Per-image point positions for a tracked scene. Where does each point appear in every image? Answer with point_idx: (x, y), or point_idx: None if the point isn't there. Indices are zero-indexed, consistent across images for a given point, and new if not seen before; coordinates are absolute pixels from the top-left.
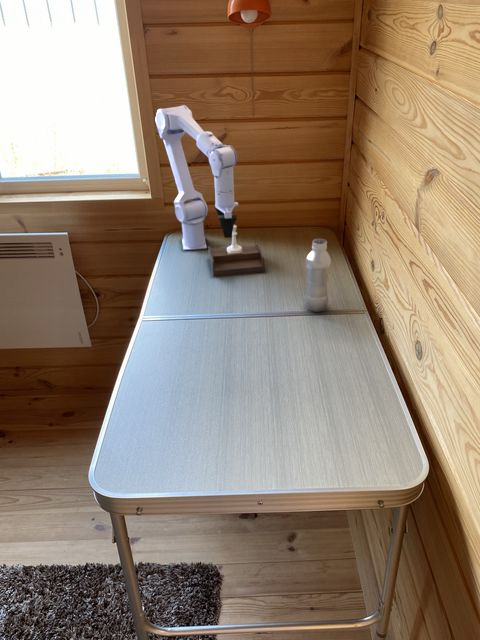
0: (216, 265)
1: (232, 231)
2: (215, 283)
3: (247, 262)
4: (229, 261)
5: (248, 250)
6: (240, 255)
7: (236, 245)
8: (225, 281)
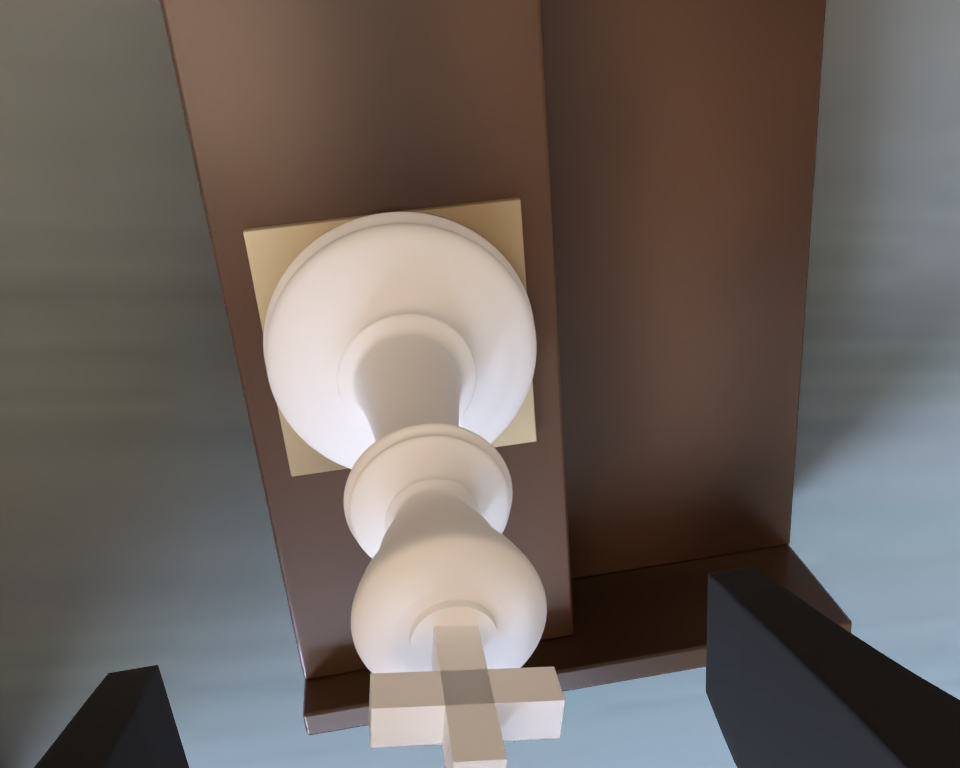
0: (655, 534)
1: (847, 632)
2: (914, 489)
3: (638, 110)
4: (563, 380)
5: (412, 84)
6: (550, 236)
7: (440, 342)
8: (902, 390)
